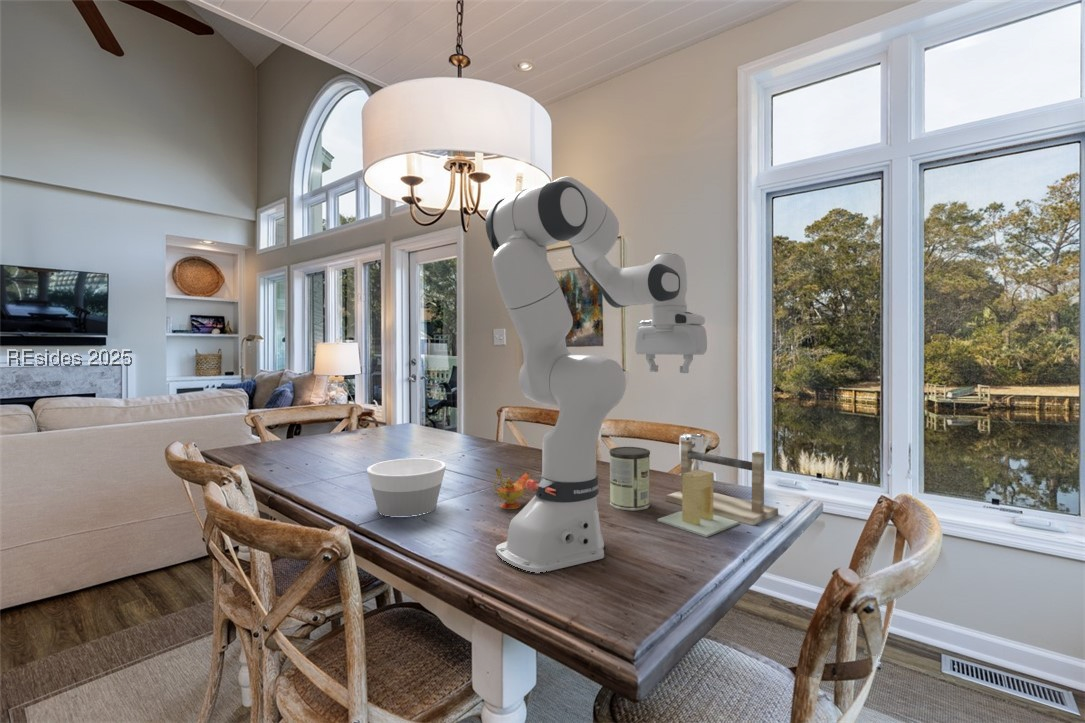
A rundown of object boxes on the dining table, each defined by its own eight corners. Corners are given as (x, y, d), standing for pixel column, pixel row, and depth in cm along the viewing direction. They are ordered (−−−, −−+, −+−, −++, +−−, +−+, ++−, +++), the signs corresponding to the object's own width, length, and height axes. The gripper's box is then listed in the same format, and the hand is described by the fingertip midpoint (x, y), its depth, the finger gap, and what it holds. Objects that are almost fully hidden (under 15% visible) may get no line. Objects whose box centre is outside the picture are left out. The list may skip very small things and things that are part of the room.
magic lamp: (542, 497, 136) (542, 456, 136) (506, 516, 120) (506, 470, 120) (520, 493, 139) (520, 454, 139) (483, 511, 123) (483, 467, 123)
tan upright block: (697, 525, 112) (697, 476, 112) (682, 520, 116) (682, 473, 115) (713, 519, 116) (713, 472, 116) (698, 515, 120) (698, 469, 119)
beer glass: (700, 483, 150) (701, 433, 149) (705, 490, 143) (706, 437, 142) (676, 483, 150) (677, 433, 150) (680, 489, 143) (681, 437, 143)
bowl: (385, 527, 113) (384, 480, 112) (355, 507, 127) (355, 465, 127) (460, 510, 125) (460, 467, 125) (425, 493, 140) (424, 454, 139)
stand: (752, 525, 114) (753, 457, 114) (666, 500, 133) (666, 442, 132) (778, 514, 122) (778, 450, 121) (692, 492, 140) (693, 437, 140)
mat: (706, 537, 107) (706, 534, 107) (657, 521, 117) (657, 518, 117) (739, 523, 115) (739, 521, 115) (690, 509, 125) (690, 507, 125)
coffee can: (615, 496, 136) (616, 445, 136) (653, 501, 132) (654, 448, 132) (604, 507, 127) (604, 452, 127) (644, 513, 123) (644, 455, 122)
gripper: (629, 320, 135) (629, 371, 135) (695, 316, 119) (695, 374, 119) (644, 321, 139) (644, 370, 139) (710, 317, 123) (710, 373, 123)
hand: (668, 372), depth 129 cm, fingers open, 8 cm apart
